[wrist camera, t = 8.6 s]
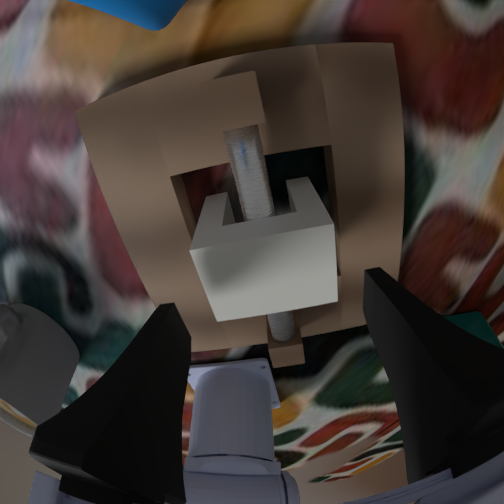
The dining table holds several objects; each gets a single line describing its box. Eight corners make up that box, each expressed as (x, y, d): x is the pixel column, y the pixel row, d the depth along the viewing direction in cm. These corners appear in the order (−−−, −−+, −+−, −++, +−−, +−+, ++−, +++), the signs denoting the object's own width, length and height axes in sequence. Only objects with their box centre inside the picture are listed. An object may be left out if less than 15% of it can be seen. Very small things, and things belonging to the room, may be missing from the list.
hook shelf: (383, 300, 21) (406, 348, 17) (184, 333, 23) (175, 385, 19) (376, 45, 12) (425, 39, 8) (92, 106, 13) (41, 122, 9)
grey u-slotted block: (315, 239, 18) (337, 301, 13) (224, 256, 18) (217, 321, 14) (307, 176, 15) (333, 223, 11) (206, 196, 16) (189, 250, 11)
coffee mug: (81, 377, 28) (57, 449, 20) (13, 344, 26) (-18, 408, 17) (79, 303, 21) (30, 402, 13) (-6, 262, 19) (-64, 338, 11)
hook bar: (295, 334, 18) (298, 350, 17) (273, 337, 18) (275, 354, 17) (251, 96, 11) (252, 97, 10) (217, 103, 11) (214, 105, 10)
